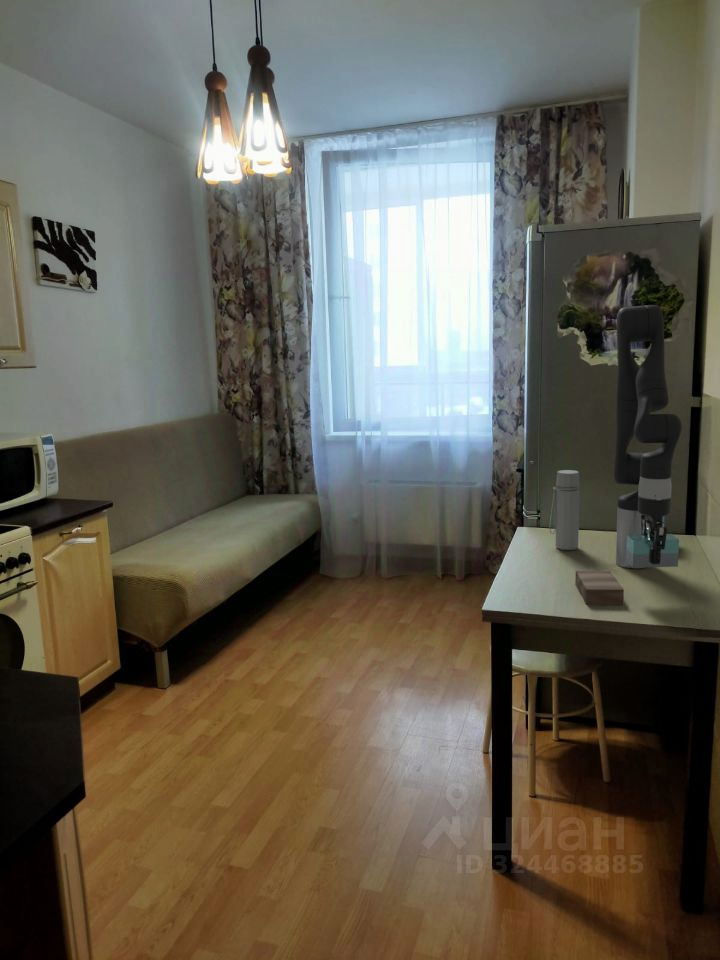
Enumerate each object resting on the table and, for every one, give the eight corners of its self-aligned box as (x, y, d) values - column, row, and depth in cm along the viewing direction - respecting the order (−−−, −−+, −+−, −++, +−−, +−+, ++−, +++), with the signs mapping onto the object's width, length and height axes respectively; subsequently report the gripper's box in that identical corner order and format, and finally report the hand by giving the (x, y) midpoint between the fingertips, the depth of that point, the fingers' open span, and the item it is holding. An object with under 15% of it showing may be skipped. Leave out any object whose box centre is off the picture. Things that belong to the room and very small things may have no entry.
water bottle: (575, 544, 223) (577, 469, 219) (581, 551, 216) (582, 473, 211) (547, 544, 224) (548, 470, 220) (551, 551, 217) (552, 474, 212)
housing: (626, 561, 175) (626, 535, 173) (669, 560, 174) (671, 533, 173) (632, 567, 170) (633, 540, 168) (677, 566, 169) (679, 539, 168)
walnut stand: (575, 584, 186) (575, 570, 185) (609, 584, 185) (610, 570, 184) (585, 604, 171) (586, 589, 171) (623, 604, 170) (623, 589, 169)
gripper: (631, 488, 176) (628, 551, 179) (647, 501, 162) (644, 569, 165) (661, 488, 175) (658, 551, 178) (680, 501, 161) (676, 569, 164)
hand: (651, 559), depth 172 cm, fingers closed on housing, 5 cm apart
